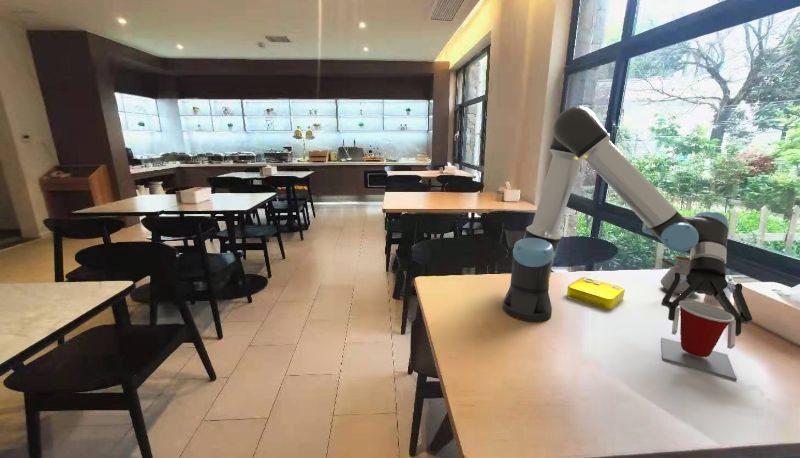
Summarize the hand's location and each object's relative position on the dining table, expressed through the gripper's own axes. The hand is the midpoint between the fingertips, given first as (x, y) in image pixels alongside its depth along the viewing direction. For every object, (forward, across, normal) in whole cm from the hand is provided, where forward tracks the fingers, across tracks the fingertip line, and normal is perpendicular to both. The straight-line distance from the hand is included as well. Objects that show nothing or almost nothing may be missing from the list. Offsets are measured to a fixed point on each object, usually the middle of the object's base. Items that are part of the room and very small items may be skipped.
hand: (701, 339), depth 86 cm
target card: (+3, 0, -7) cm, 7 cm away
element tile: (-16, +26, -26) cm, 40 cm away
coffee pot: (-31, +3, -41) cm, 52 cm away
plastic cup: (+1, 0, -6) cm, 6 cm away
